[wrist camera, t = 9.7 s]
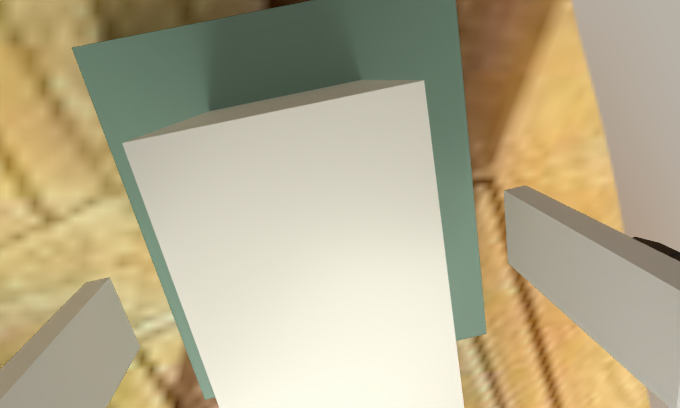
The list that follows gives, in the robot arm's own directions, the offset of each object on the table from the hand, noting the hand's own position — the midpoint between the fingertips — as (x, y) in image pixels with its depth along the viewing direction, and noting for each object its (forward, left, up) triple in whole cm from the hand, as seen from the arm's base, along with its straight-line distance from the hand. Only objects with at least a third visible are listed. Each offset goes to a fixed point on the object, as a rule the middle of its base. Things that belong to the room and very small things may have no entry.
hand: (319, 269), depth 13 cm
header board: (-1, 0, -6) cm, 6 cm away
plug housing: (0, 0, -4) cm, 4 cm away
